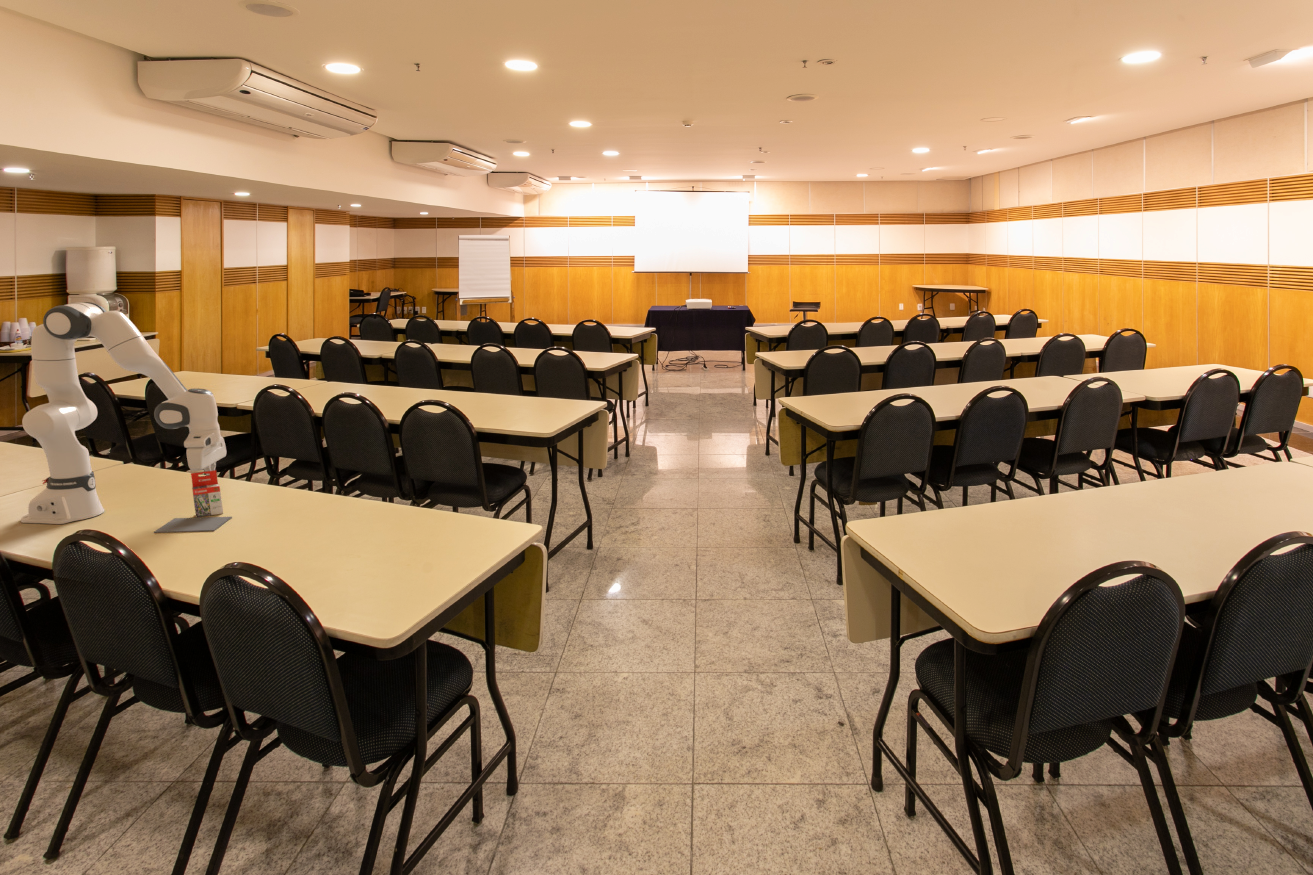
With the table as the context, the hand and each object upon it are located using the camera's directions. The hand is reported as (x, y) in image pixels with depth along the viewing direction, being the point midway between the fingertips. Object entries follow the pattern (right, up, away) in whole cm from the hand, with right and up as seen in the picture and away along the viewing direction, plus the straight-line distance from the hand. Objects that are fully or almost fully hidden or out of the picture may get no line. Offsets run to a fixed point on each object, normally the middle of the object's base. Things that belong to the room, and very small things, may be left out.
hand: (210, 476), depth 260 cm
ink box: (0, -13, -1) cm, 13 cm away
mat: (+2, -15, -12) cm, 20 cm away
